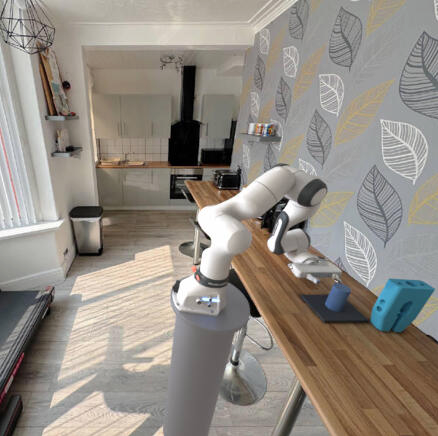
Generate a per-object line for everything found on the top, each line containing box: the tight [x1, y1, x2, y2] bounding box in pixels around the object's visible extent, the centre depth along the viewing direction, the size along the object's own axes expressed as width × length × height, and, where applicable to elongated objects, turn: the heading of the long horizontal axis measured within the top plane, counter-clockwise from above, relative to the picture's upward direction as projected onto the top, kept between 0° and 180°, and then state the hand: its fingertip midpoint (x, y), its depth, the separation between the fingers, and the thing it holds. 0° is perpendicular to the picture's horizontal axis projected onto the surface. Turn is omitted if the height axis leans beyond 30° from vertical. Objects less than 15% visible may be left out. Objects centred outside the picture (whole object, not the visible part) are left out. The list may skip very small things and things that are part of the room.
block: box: [369, 278, 436, 333], centre depth 85 cm, size 12×5×20 cm, turn 87°
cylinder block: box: [325, 282, 352, 312], centre depth 94 cm, size 6×6×10 cm
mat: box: [300, 294, 370, 323], centre depth 96 cm, size 18×14×1 cm
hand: (328, 282), depth 98 cm, fingers open, 8 cm apart
